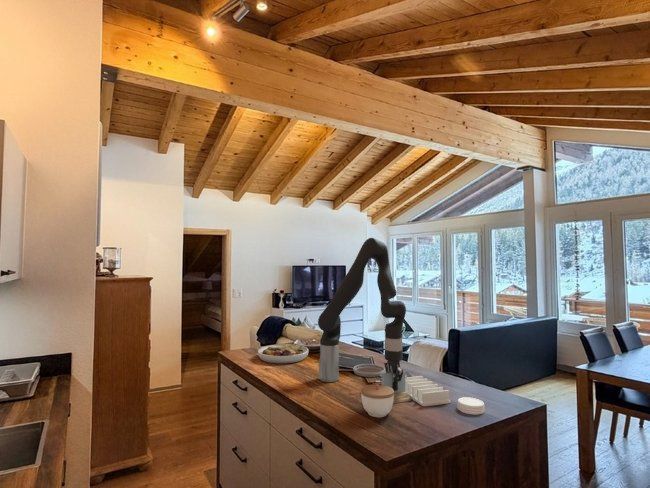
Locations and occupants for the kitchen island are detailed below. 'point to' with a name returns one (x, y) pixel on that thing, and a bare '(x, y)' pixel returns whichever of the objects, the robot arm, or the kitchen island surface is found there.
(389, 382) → the grey board
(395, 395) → the plate stand
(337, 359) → the robot arm
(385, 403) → the lidded bowl
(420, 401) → the dish rack
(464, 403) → the coaster
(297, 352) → the bowl
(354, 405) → the kitchen island surface
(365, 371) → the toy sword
